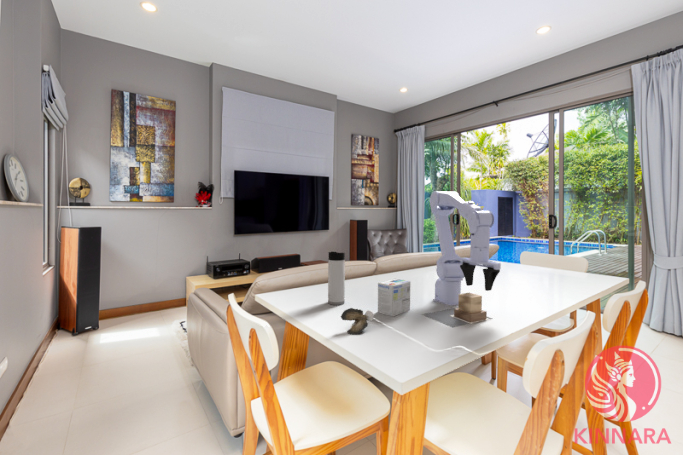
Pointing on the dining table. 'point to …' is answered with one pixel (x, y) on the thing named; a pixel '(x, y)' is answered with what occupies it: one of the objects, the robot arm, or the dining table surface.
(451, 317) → the mat
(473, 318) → the walnut slab
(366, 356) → the dining table surface
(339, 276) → the travel mug
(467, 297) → the oak cube
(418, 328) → the dining table surface
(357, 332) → the eagle figurine
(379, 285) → the light bulb box
